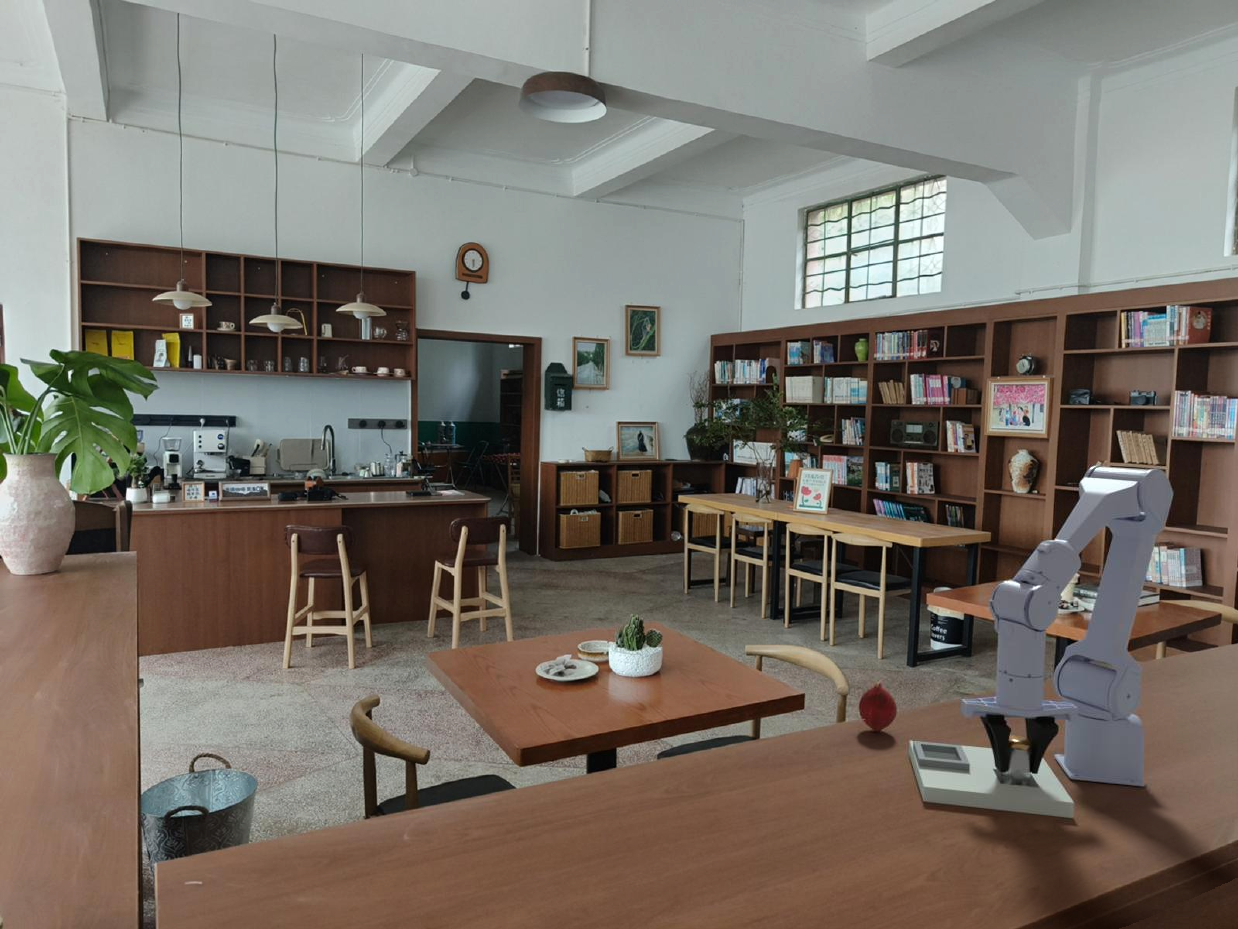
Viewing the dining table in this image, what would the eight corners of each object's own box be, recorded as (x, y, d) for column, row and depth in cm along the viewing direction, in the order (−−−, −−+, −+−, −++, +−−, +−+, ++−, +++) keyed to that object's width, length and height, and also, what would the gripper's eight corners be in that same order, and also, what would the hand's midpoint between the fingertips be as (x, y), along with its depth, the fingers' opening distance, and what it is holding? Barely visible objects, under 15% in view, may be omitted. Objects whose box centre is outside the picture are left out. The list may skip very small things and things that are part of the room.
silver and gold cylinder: (1025, 787, 113) (1028, 736, 113) (1032, 798, 110) (1034, 746, 109) (998, 784, 114) (1000, 733, 113) (1004, 795, 110) (1006, 743, 110)
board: (1039, 766, 120) (1039, 746, 120) (1073, 818, 105) (1074, 795, 105) (908, 753, 124) (909, 734, 124) (923, 801, 109) (924, 779, 109)
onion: (897, 740, 130) (899, 689, 129) (859, 736, 131) (861, 687, 130) (893, 726, 135) (895, 678, 135) (856, 723, 136) (858, 675, 136)
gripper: (1062, 664, 114) (1058, 760, 115) (954, 660, 115) (951, 755, 116) (1087, 680, 107) (1082, 782, 108) (972, 676, 108) (968, 777, 109)
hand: (1016, 770), depth 112 cm, fingers closed on silver and gold cylinder, 3 cm apart
